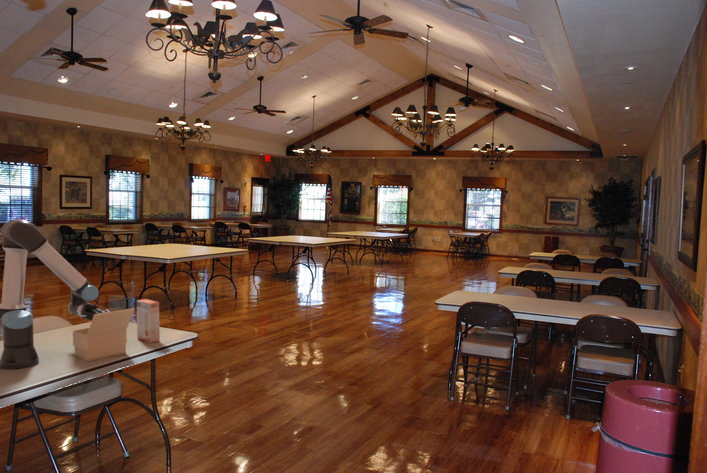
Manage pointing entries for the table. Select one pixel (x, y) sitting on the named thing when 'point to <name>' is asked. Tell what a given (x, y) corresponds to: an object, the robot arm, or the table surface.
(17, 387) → the table surface
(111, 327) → the flap
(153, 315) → the cracker box
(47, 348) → the table surface
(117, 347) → the carton
